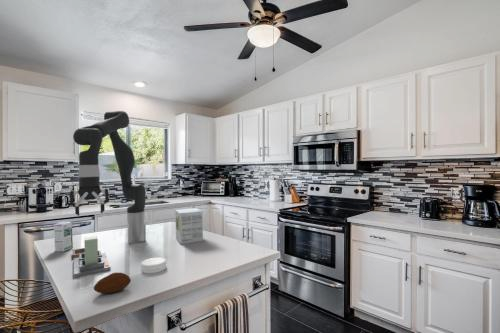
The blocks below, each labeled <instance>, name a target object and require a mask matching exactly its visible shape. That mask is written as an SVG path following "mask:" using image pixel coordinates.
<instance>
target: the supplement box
mask: <svg viewBox="0 0 500 333" xmlns="http://www.w3.org/2000/svg"><path fill="white" fill-rule="evenodd" d="M174 211H175V212H174V213H175V214H174V216H175V239H176V241H177V242H178V243H179V244H180V245H185V244H186V245H187V244H193V243H200V242H203V241H204V233H203V232H204V229H203V228H204V226H203V225H204V224H203V221H204V220H203V212H204V211H203V210H201V209H199V208H197V207H194V208H193V207H192V208H180V209H175V210H174Z"/></svg>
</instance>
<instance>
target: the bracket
mask: <svg viewBox="0 0 500 333" xmlns="http://www.w3.org/2000/svg"><path fill="white" fill-rule="evenodd" d="M81 253H85V247H82V248H76V249H72V260H74V258H79V254H81Z"/></svg>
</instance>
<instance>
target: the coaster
mask: <svg viewBox="0 0 500 333" xmlns="http://www.w3.org/2000/svg"><path fill="white" fill-rule="evenodd" d="M166 268H167V260H166V258H165V257H157V256H156V257H151V258H147V259H144V260H142V262H141V263H140V271H141V272H142V273H144V274H156V273H159V272H162V271H164V270H165V269H166Z"/></svg>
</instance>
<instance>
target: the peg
mask: <svg viewBox="0 0 500 333" xmlns="http://www.w3.org/2000/svg"><path fill="white" fill-rule="evenodd" d="M83 239H84V248H85V252H84V253H85V265H89V264H95V263H98V251H99V249H98V248H99V246H98V244H99V243H98V241H99V240H98V236H89V237H84V238H83Z"/></svg>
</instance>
